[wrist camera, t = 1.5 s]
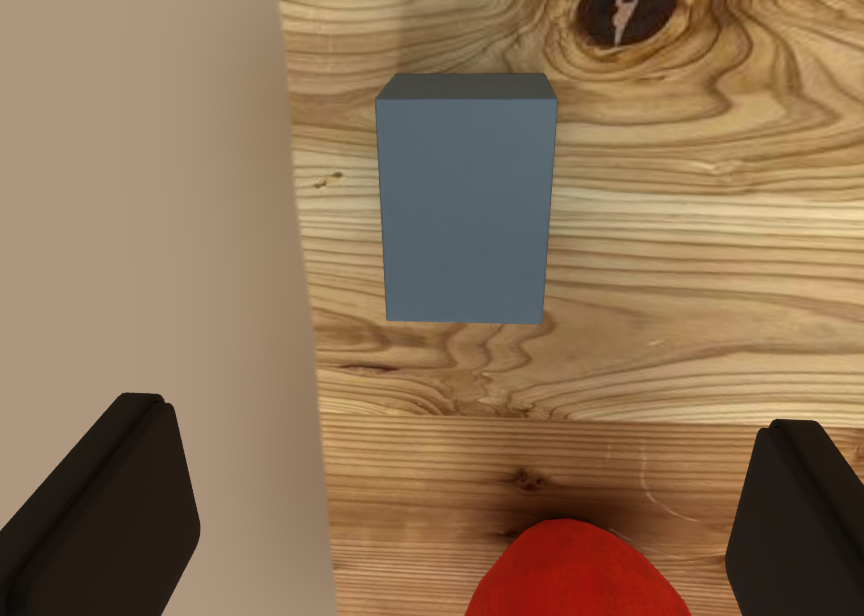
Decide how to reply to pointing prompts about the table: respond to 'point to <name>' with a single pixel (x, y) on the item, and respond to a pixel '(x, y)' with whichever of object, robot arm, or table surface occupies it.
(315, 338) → the table surface
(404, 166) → the blue-grey rectangular block
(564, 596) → the apple
